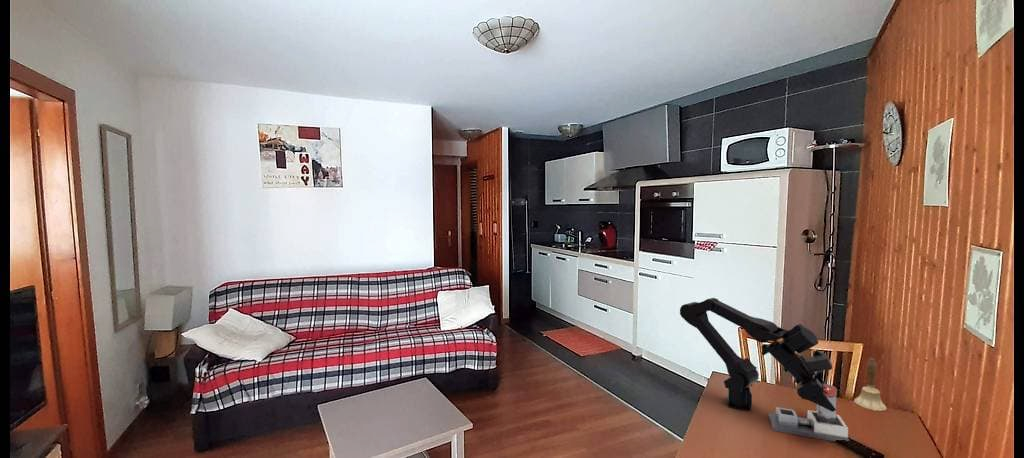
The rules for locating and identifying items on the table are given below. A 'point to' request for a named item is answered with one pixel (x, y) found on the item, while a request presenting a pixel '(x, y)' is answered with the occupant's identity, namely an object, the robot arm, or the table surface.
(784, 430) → the desk organizer
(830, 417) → the grey jar
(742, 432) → the table surface
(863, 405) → the hand bell
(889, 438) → the table surface
